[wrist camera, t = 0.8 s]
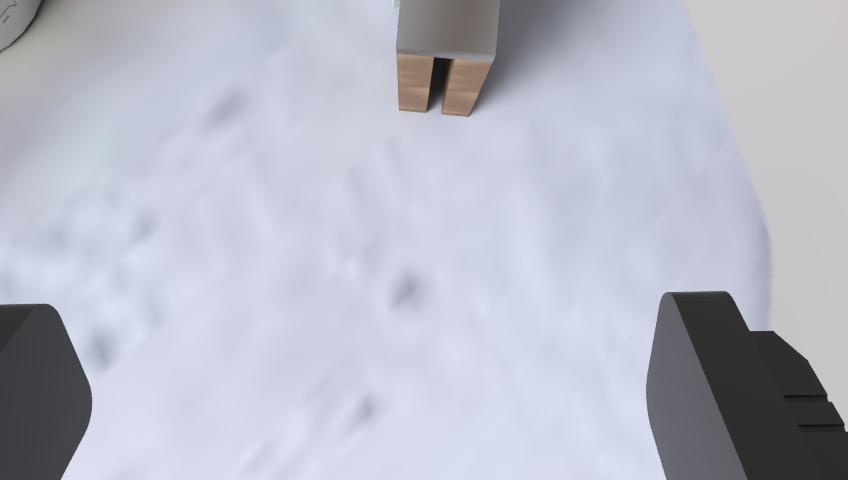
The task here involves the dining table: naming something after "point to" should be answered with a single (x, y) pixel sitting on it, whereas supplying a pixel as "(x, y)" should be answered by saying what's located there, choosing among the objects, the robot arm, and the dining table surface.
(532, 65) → the dining table surface
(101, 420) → the dining table surface
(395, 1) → the rest
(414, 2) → the brown wooden slotted block
